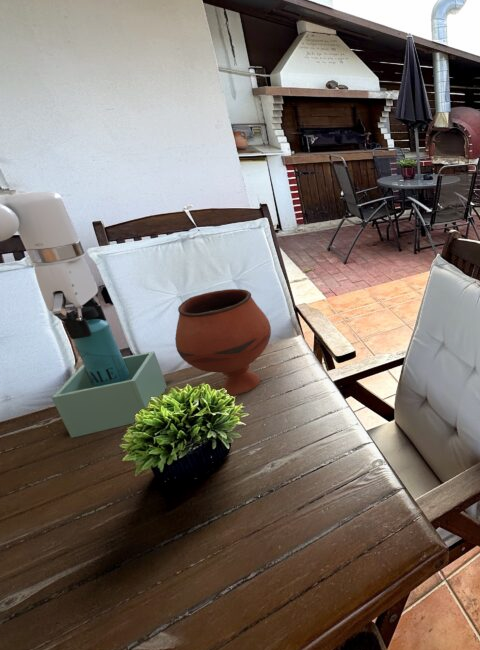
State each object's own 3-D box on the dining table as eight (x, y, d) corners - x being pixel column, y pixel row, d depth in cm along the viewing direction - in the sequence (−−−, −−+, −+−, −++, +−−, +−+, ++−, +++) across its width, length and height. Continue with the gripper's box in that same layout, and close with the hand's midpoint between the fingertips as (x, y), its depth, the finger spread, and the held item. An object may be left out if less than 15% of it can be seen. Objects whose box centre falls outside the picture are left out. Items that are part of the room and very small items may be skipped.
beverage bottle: (128, 374, 98) (98, 300, 91) (136, 383, 94) (106, 307, 87) (91, 387, 93) (57, 310, 86) (98, 398, 89) (63, 318, 82)
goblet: (183, 390, 103) (153, 302, 94) (263, 357, 117) (243, 278, 108) (211, 421, 92) (179, 326, 83) (294, 381, 106) (275, 296, 98)
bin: (71, 438, 87) (51, 397, 83) (98, 401, 99) (82, 364, 95) (150, 419, 93) (134, 380, 89) (167, 386, 104) (154, 351, 100)
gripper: (54, 244, 88) (85, 317, 94) (4, 268, 73) (44, 352, 79) (99, 240, 91) (126, 310, 97) (59, 262, 76) (94, 344, 82)
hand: (89, 329), depth 88 cm, fingers closed on beverage bottle, 6 cm apart
